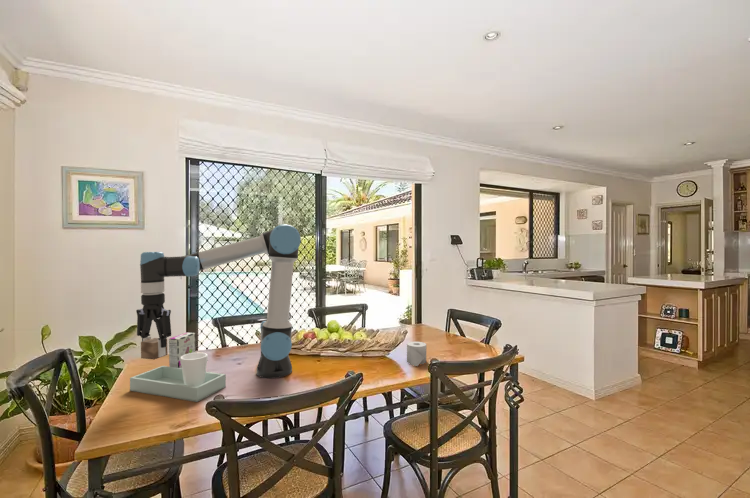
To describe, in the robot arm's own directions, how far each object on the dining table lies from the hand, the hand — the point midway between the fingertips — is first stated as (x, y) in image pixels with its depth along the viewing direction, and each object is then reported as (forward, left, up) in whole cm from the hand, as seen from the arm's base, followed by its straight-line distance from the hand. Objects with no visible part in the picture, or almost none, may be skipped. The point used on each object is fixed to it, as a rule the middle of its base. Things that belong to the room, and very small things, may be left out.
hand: (154, 355), depth 140 cm
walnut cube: (0, 0, 0) cm, 0 cm away
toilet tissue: (-85, -70, -15) cm, 111 cm away
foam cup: (-11, -8, -15) cm, 20 cm away
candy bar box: (+10, -23, -15) cm, 29 cm away
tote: (-3, -8, -15) cm, 17 cm away
